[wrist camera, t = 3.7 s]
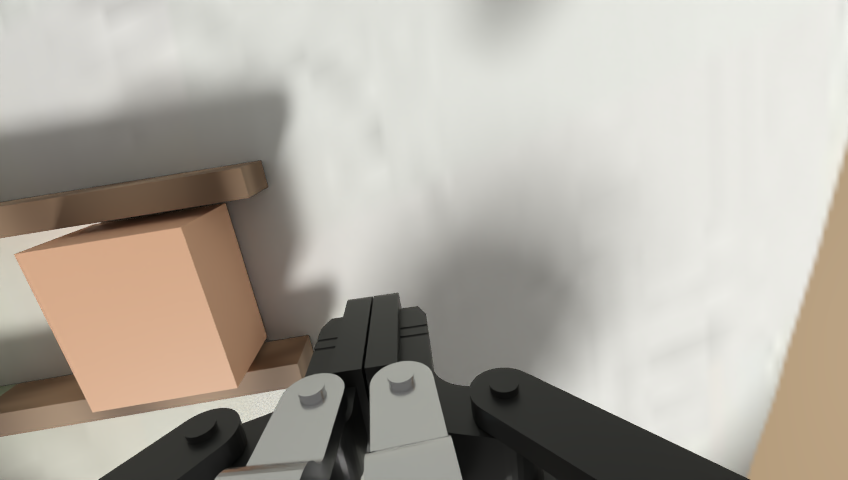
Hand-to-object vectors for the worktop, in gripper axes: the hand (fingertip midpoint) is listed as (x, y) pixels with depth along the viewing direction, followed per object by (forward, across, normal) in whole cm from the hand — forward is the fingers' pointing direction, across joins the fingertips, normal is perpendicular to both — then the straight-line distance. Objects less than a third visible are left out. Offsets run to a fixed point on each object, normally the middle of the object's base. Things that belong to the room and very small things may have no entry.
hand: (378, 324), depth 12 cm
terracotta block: (+8, +10, +1) cm, 13 cm away
